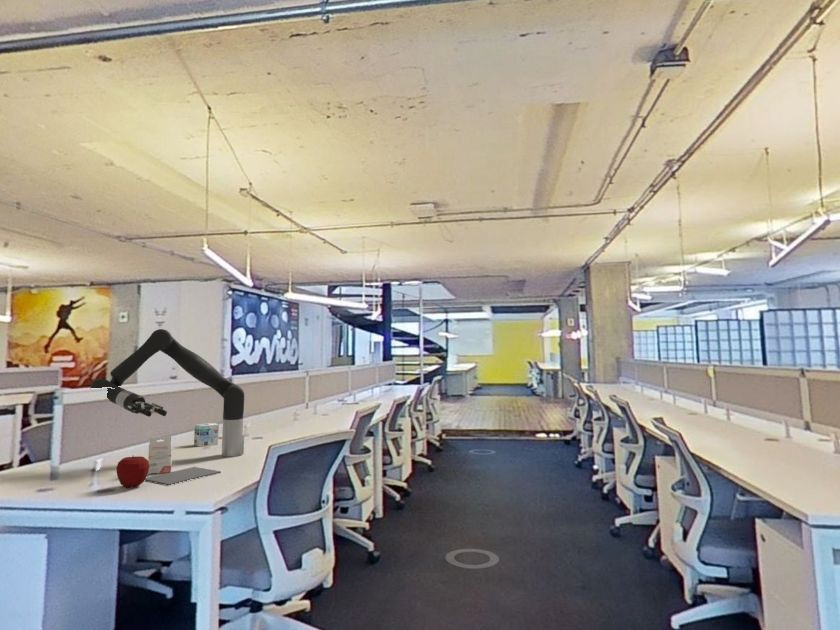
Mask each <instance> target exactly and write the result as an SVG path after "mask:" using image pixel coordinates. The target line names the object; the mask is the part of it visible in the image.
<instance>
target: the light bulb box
mask: <svg viewBox="0 0 840 630" xmlns="http://www.w3.org/2000/svg"><path fill="white" fill-rule="evenodd" d="M219 429H220V424H219V423H215V422H210V423H199V424H195V425H194V432H193V434H194V436H193V437H194V439H193V446H196V445H197V447H199V446H201V447H206V446H205V445H209V446H215V445H219V431H220V430H219Z"/></svg>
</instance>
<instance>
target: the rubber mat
mask: <svg viewBox="0 0 840 630" xmlns="http://www.w3.org/2000/svg"><path fill="white" fill-rule="evenodd" d="M217 473H218V474H221V473H222V472H221V470H215V469H210V468H203V467H196V466H193V467H188V468H183V469H179V470H173V471H171V472H169V473H159V474H156V475H151V476H148V477H147V476H146V478H145V480H146V481H145V482H148V481H152V482H151V483H153V482H157V483H156V484H158V483H162V484H161V485H163V484H166V485H165V486H168V485H170V486H172V485H171V484H174V485H176V484H175V483H178V484H180V483H179V482H182V483H184V482H183V481H186V482H188V481H187V480H190V479H194V480H196V479H195V478H198V479H200V478H199V477H202V478H204V477H203V476H206V477H209V476H208V475H210V476H214V475H217ZM213 474H214V475H213ZM190 481H191V480H190Z"/></svg>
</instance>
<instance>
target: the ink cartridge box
mask: <svg viewBox="0 0 840 630" xmlns="http://www.w3.org/2000/svg"><path fill="white" fill-rule="evenodd" d="M160 440H161V441H160ZM172 448H173V443H172V437H171V436H156V437H154V436H153V437H152V436H151V437H149V443H148V458H147V460H148V462H149V465H150V467H149V471H148V474H147V475H152V474H151V473H157V474H165V473H168V472H172V459H173V458H172V455H173V454H172V453H173V449H172Z"/></svg>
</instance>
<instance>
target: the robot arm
mask: <svg viewBox="0 0 840 630" xmlns="http://www.w3.org/2000/svg"><path fill="white" fill-rule="evenodd" d="M158 352H162V353H164V354H165V355H166V356H169V358H171V359H172V360H174V362H175V363H176V364H178V366H180V367H181V368H182V370H184V371H185V372H186V373H187V374H189V375H190V376H191V377H192V378H194V379H195V380H197V381H199V382H200V383H202V384H204V385H206V386H208V387H210V388H211V389H213V390H214V391H215V392H216V393H218V394H219V395H220V397H222V398H223V411H222V434H221V435H222V438H221V456H222V457H228V458H230V457H238V456H242V455H244V452H245V450H244V449H245V434H244V433H243V432H244V430H243V429H244V413H245V412H244V410H245V391H244V389H243V388H242V387H241V386H239V385H237V384H235V383H234V382H232V381H231V380H229V379H228V378H226V377H224V376H223V375H222V374H221V373H220V372H219V371H218V370H217V369H216V368H215V366H213V365H211V363H210V362H208V361H207V360H206V359H204V358H203V357H201V356H200V355H199V354H198V353H195V352H194V351H192V350H190V349H189V348H186V347H185V346H184V345H182V344H181V343H180V342H179V341H177V340H176V339H175V337H173V336H172V334H171V333H170V331H169V330H166V329H163V328H158V329H155V330H154V331H153V332H152V333H151V334H150V336H149V337H148V338H147V340H145V342H144V343H143V344H142V345H141V346H140V347H138V348H137V349H136V350H135V351H134V352H133V353H131V354H130V355H129V356H128V357H127V358H125V359H124V360H122V362H120V363H119V364H118V365H117V366H116V367H115V368H113V369H112V370H111V371H110V373H109V374H110V376H111V379H110V380H107V379H106V378H102V377H101V378H96V379H94V380H92V382H91V383H90V389H91V388H102V387H112V388H115V389H111V388H107V389H108V390H107V391H108V393H107V398H108V399H109V400H108V399H107V400H108V401H109V402H111V404H112V403H113V404H115V405H117V406H119V407H120V408H122V409H123V410H127V411H128V412H130V413H133V414H136V415H137V414H140V415H144V416H146V417H148V418H149V417H150V418H151V416H152V414H153V413H155V414H157V415H158V414H159V415H161V416H163V417H166V416H167V414H168V411H167V410H165V409H164V407H163V406H161V405H158V404H157V403H154V402H152V403H150V402H146V399H145V397H144V396H142V395H139V394H137V393H135V392H133V391H130V390H127V389H125V388H123V387H122V385H123V384H124V383H125V382H126V380H128V379H129V378H130V377H132V375H133V374H134V373H135V372H137V371H138V370H139V369H140V368H141V366H143V365H144V363H145V362H147V361H148V360H149V359H150V358H151V357H153V356H154V355H156V354H157V353H158ZM118 386H121V387H118Z"/></svg>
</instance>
